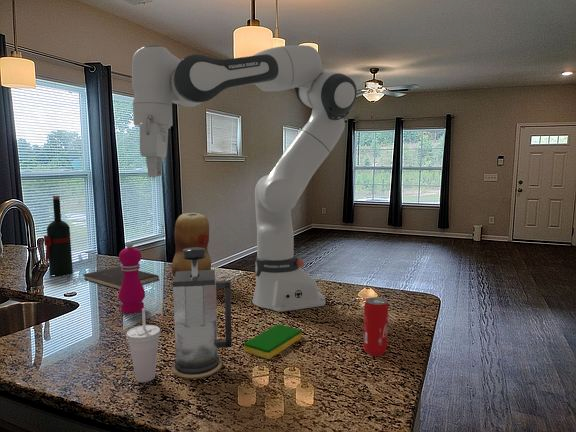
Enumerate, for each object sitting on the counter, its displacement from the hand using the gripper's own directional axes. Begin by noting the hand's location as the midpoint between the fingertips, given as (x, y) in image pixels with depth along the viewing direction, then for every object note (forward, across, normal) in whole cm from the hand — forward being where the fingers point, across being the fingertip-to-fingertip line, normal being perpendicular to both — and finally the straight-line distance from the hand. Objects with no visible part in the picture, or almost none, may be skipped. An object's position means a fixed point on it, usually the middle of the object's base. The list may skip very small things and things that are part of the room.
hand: (155, 176), depth 100 cm
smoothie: (+39, -23, 0) cm, 45 cm away
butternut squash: (+39, +43, -6) cm, 59 cm away
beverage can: (+39, -20, -49) cm, 66 cm away
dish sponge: (+40, -12, -27) cm, 50 cm away
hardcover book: (+40, +53, +20) cm, 69 cm away
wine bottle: (+39, +64, +45) cm, 88 cm away
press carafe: (+39, -20, -10) cm, 45 cm away
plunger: (+28, -20, -10) cm, 36 cm away
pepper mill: (+39, +18, +10) cm, 44 cm away
